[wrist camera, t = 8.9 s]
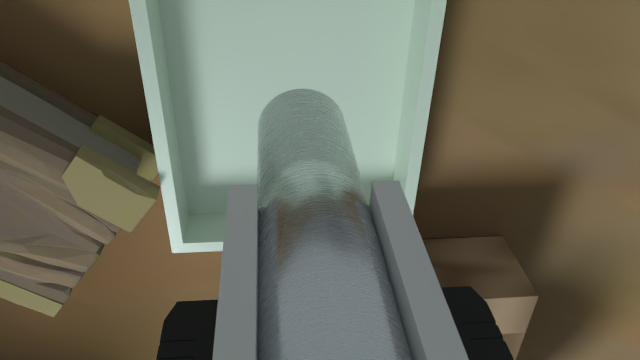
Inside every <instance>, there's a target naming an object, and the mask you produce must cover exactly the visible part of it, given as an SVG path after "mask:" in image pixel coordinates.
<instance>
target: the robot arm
mask: <svg viewBox="0 0 640 360" xmlns="http://www.w3.org/2000/svg"><path fill="white" fill-rule="evenodd" d="M369 208H370V212H371V215H372V219H373V222H374V226H375V229H376V233H377V236H378V240H379V243H380V247H381V250H382V254H383V257H384V261H385V264H386V268H387V271H388V275H389V278H390V282H391V285H392V289H393V292H394V296H395V299H396V303H397V306H398V310H399V313H400V317H401V320H402V324H403V328H404V331H405V335H406V338H407V342H408V345H409V349H410V352H411V356H412V359H413V360H514V359H513V356H512V354H511V352H510V350H509V348H508V346H507V344H506V342H505V341H504V340H503V335H502V333H501V331H500V329H499V327H498V325H496V321H495V319H494V316H493V314H492V312H491V310H490V308H489V306H488V304H487V302H486V301H485V300H484V299H483V298H482V297H481V296H480V295H479V294H478V293H477V292H476V291H475V290H474V289H473V288H472V287H471V286H461V287H440V284H439V282H438V279H437V276H436V274H435V271H434V269H433V266H432V264H431V261H430V259H429V256H428V253H427V251H426V248H425V246H424V243H423V241H422V238H421V235H420V233H419V230H418V228H417V225H416V223H415V220H414V217H413V215H412V212H411V210H410V207H409V205H408V202H407V199H406V197H405V194H404V192H403V189H402V187H401V184H400V181H372V184H371V194H370V204H369ZM258 233H259V206H258V186H257V185H232V186H229V187H228V198H227V209H226V219H225V230H224V241H223V251H222V262H221V273H220V284H219V294H218V300H202V301H181V302H177V303H176V304H175V306H174V307H173V309H172V310H171V311H170V313H169V314H168V316H167V317H166V318H165V320H164V324H163V329H162V334H161V339H160V346H159V349H158V354H157V360H257V348H258Z"/></svg>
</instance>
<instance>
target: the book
mask: <svg viewBox="0 0 640 360" xmlns="http://www.w3.org/2000/svg"><path fill="white" fill-rule="evenodd" d="M157 174H158V168H157V162H156V156H155V150H154V146H153V145H152V144H150V143H148V142H146V141H145V140H143V139H141V138H139V137H138V136H136V135H134V134H133V133H131V132H129V131H127V130H126V129H124V128H122V127H120V126H119V125H117V124H115V123H114V122H112V121H110V120H108V119H107V118H105V117H103V116H101V115H100V114H99V116H98V117H97V116H95V115H93V114H92V113H90V112H88V111H86V110H85V109H83V108H82V107H80V106H78V105H76V104H75V103H73V102H71V101H69V100H68V99H66V98H64V97H62V96H61V95H59V94H57V93H55V92H54V91H52V90H50V89H48V88H47V87H45V86H43V85H41V84H40V83H38V82H36V81H34V80H33V79H31V78H29V77H28V76H26V75H24V74H22V73H21V72H19V71H17V70H15V69H14V68H12V67H10V66H8V65H7V64H5V63H3V62H1V61H0V297H1V298H3V299H6V300H8V301H10V302H13V303H16V304H19V305H22V306H24V307H27V308H30V309H33V310H36V311H39V312H41V313H44V314H46V315H49V316H51V317H54V316H55V315H56V314H57V312H58V311H59V310H60V308H61V307H62V306H63V304H64V302H65V301H66V300H67V299H68V298H69V296H70V293H71V291H72V288H74V287H75V285H76V284H77V283H78V282H79V281H80V279H81V278H82V277H83V275H84V274H85V272H87V271H88V269H89V268H90V267H91V266H92V264H93V263H94V262H95V261H96V259H97V258H98V257H99V256H100V253H101V251H102V249H103V247H104V244H106V245H107V244H109V243H110V242H111V241H112V240H113V239H114V237H115V235H116V232H118V231H119V230H120V229H121V228H122V229H124V230H125V231H127V232H129V233H131V232H132V230H133V229H134V228H135V226H136V225H137V224H138V222H139V221H140V220H141V219H142V217H143V216H144V215H145V214H146V212H147V211H148V210H149V209H150V207H151V206H152V205H153V204H154V202H155V201H156V200H157V196H158V192H159V188H160V187H159V186H158V185H156V184H154V183H152V182H151V181H152V180H153V179H154V177H155V176H156V175H157ZM103 243H104V244H103Z"/></svg>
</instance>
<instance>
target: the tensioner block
mask: <svg viewBox="0 0 640 360" xmlns="http://www.w3.org/2000/svg"><path fill="white" fill-rule="evenodd" d="M422 241H423V243H424V246H425V248H426V251H427V253H428V256H429V259H430V261H431V264H432V266H433V269H434V271H435V274H436V276H437V279H438V282H439V284H440V287H461V286H471V287H472V288H473V289H474V290H475V291H476V292H477V293H478V294H479V295H480V296H481V297H482V298H483V299H484V300H485V301H486V302H487V304H488V306H489V308H490V310H491V312H492V314H493V316H494V319H495V321H496V325H498V327H499V329H500V331H501V333H502V335H503V340H504V341H505V342H506V344H507V346H508V348H509V350H510V352H511V354H512V356H513V359H514V360H516V357H517V355H518V352H519V349H520V346H521V344H522V341H523V338H524V335H525V333H526V330H527V327H528V324H529V322H530V319H531V316H532V313H533V311H534V308H535V305H536V302H537V300H538V297H539V296H538V294H537V292H536V291H535V289H534V287H533V286H532V284H531V282H530V281H529V279H528V277H527V276H526V274H525V272H524V271H523V269H522V267H521V266H520V264H519V262H518V261H517V259H516V257H515V256H514V254H513V253H512V251H511V249H510V248H509V246H508V244H507V243H506V241H505V239H504V238H503V236H490V237H467V238H444V239H422Z"/></svg>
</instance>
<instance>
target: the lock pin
mask: <svg viewBox="0 0 640 360" xmlns="http://www.w3.org/2000/svg"><path fill="white" fill-rule="evenodd" d="M257 186H258V206H259V233H258V348H257V360H413V359H412V356H411V352H410V349H409V345H408V342H407V338H406V335H405V331H404V328H403V324H402V320H401V317H400V313H399V310H398V306H397V303H396V299H395V296H394V292H393V289H392V285H391V282H390V278H389V275H388V271H387V268H386V264H385V261H384V257H383V254H382V250H381V247H380V243H379V240H378V236H377V233H376V229H375V226H374V222H373V219H372V215H371V212H370V208H369V204H368V201H367V197H366V194H365V190H364V187H363V183H362V180H361V176H360V173H359V169H358V166H357V162H356V159H355V155H354V152H353V148H352V145H351V141H350V138H349V134H348V131H347V127H346V124H345V120H344V117H343V114H342V111H341V109H340V108H339V106H338V105H337V104H336V103H335V101H334V100H332V99H331V98H330V97H329V96H327V95H325V94H324V93H321V92H319V91H316V90H312V89H294V90H289V91H286V92H284V93H281V94H279V95H278V96H276V97H275V98H273V99H272V100H271V101H270V102H269V103H268V104H267V105H266V106H265V108H264V109H263V111H262V113H261V115H260V118H259V122H258V159H257Z"/></svg>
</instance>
